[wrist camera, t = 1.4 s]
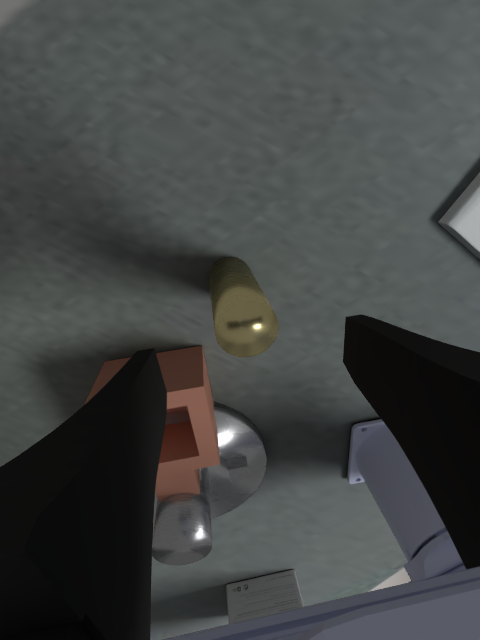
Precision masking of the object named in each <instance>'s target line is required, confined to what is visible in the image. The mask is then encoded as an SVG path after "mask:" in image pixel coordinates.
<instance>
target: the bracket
mask: <svg viewBox="0 0 480 640" xmlns="http://www.w3.org/2000/svg"><path fill="white" fill-rule="evenodd" d="M156 355H157V359H158V362H159V366H160V369H161V373H162V376H163V380H164V383H165V387H166V390H167V416H168V413H172V414H173V413H174V414H173V415H175V413H178V416H176V415H175V416H176V418H175V417H174V418H172V420H174V419H175V420H177V421H179V420H181V421H182V420H183V419H184V418H183V416H184V417H188V415H187V414H188V412H189V416H190V417H188V418H190V421H188V420H187V419H184V420H187V421H184V420H183V421H184V422H183V421H182V422H180V421H179V422H177V421H176V422H175V421H173V422H175V423H174V424H173V423H171V422H172V420H171V417H173V416H172V414H169V416H170V415H171V417H169V416H168V417H166V419H167V418H170V419H168V420H166V423H167V422H168V421H169V420H170V422H168V423H167V425H165V429H164V435H163V442H162V448H161V454H160V460H159V466H158V472H157V479H156V487H155V493H156V496H157V498H158V501H159V502H161V501H163V500H164V499H165V498H167V497H169V496H172V495H175V494H179V493H194V494H200V468H205V467H210V466H215V465H220V456H219V444H218V432H217V424H216V419H215V414H214V403H213V397H212V392H211V387H210V382H209V377H208V372H207V367H206V362H205V357H204V352H203V347H202V346H197V347H190V348H184V349H178V350H172V351H166V352H160V353H156ZM130 358H131V357H129V358H123V359H117V360H111V361H105V362H104V364H103V366H102V368H101V370H100V372H99V374H98V377H97V379H96V381H95V383H94V385H93V387H92V389H91V391H90V393H89V395H88V398H87V400H86V402H85V404H86V403H87V402H88V401H89V400H90V399H91V398H92V397H93V396H94V395H96V394H97V393H98V392H99V391H100V390H101V389H102V388H103V387H104V386H105V385H106V384H107V383H108V382H109V381H110V380H111V379H112V378H113V376H114V375H115V374H116V373H117V372H118V371H119V370H120V369H121V368H122V367H123V366H124V365H125V364H126V363H127V361H128V360H129V359H130ZM85 404H84V405H85ZM179 411H181V414H184V415H180V414H179V413H180V412H179ZM183 411H184V412H183ZM185 411H186V412H187V413H186V415H185ZM179 415H180V416H181V417H182V418H183V419H180V416H179ZM177 417H178V419H179V420H178V419H177ZM166 423H165V424H166ZM169 423H170V424H169Z"/></svg>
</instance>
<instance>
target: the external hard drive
mask: <svg viewBox="0 0 480 640" xmlns="http://www.w3.org/2000/svg"><path fill="white" fill-rule="evenodd" d="M438 223H439V224H440V225H441V226H442V227H443V228H445V229H446V230H447V231H448V232H449V233H450V234H451V235H453V236H454V237H455V238H456V239H457V240H458V241H459V242H460V243H462V244H463V245H464V246H465V247H466V248H467V249H468V250H469V251H471V252H472V253H473V254H474V255H475V256H476V257H477V258H478V259H480V172H479V174H478V175H477V176H476V177H475V178H474V180H473V181H472V182H471V183H470V184H469V186H468V187H467V188H466V189H465V190H464V191H463V193H462V194H461V195H460V196H459V197H458V199H457V200H456V201H455V202H454V203H453V205H452V206H451V207H450V208H449V209H448V211H447V212H446V213H445V214H444V216H443V217H442V218H441V219H440V220H439V221H438Z"/></svg>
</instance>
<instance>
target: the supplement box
mask: <svg viewBox="0 0 480 640" xmlns="http://www.w3.org/2000/svg"><path fill="white" fill-rule="evenodd" d="M226 591H227V605H228V618H229V624H232V623H236V622H241V621H245V620H249V619H254V618H258V617H262V616H267V615H271V614H275V613H280V612H284V611H288V610H293V609H297V608H301V607H304V605H303V601H302V597H301V593H300V589H299V585H298V581H297V577H296V573H295V570H289V571H284V572H280V573H275V574H271V575H266V576H262V577H258V578H253V579H249V580H244V581H240V582H236V583H231V584H227V585H226Z"/></svg>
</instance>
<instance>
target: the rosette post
mask: <svg viewBox="0 0 480 640" xmlns="http://www.w3.org/2000/svg"><path fill="white" fill-rule="evenodd" d="M213 403H214V414H215V419H216V424H217V432H218V444H219V456H220V465H215V466H210V467H205V468H200V494H194V493H179V494H175V495H172V496H169V497H167V498H165V499H164V500H163V501H161V502H159V501H158V498H157V496H156V493H155V502H154V518H153V523H155V525H154V534H153V543H152V555H153V557H154V558H155V559H156V560H157V561H159V562H161V563H164V564H168V565H186V564H190V563H194V562H196V561H199V560H201V559H202V558H204V557H205V556H207V555H208V554H209V552H210V551H211V548H212V532H211V519H212V518H215V517H218V516H220V515H223V514H225V513H227V512H229V511H231V510H233V509H235V508H236V507H238V506H239V505H241V504H242V503H243V502H245V501H246V500H247V499H248V498H249V497H250V496H251V495H252V494H253V493H254V492H255V491H256V490H257V488H258V487H259V485H260V484H261V482H262V480H263V478H264V475H265V472H266V466H267V458H266V453H265V449H264V445H263V441H262V438H261V435H260V433H259V431H258V430H257V428H256V427H255V425H254V424H253V423H252V422H251V421H250V420H249V419H248V418H246V417H245V416H244V415H243V414H241V413H239V412H238V411H236V410H234V409H232V408H230V407H227V406H225V405H222V404H219V403H215V402H213ZM179 412H180V413H179V414H180V415H184V414H181V411H179ZM183 412H184V411H183ZM186 413H187V412H186V411H185V415H186ZM169 414H172V413H168V416H169ZM173 414H174V413H173ZM173 414H172V416H173V417H171V415H170V416H169V417H171V420H172V418H174V417H175V418H176V416H178V413H175V415H176V416H175V415H173ZM180 415H179V416H180ZM187 415H188V417H190V416H189V412H188V414H187ZM168 416H167V415H166V417H168ZM188 417H184V416H183V418H184V419H187V420H188V421H190V418H188ZM183 418H182V417H181V416H180V419H183ZM168 419H170V418H167V419H166V420H168ZM177 419H178V417H177ZM184 419H183V420H184ZM178 420H179V419H178ZM183 420H182V421H183ZM187 420H184V421H187ZM173 421H175V422H176V421H177V420H175V419H174V420H172V422H171V423H173V424H174V423H175V422H173ZM179 421H180V422H182V421H181V420H179ZM179 421H177V422H179ZM184 421H183V422H184ZM168 422H170V420H169V421H168ZM168 422H167V423H168ZM167 423H166V424H165V425H167ZM169 424H170V423H169Z"/></svg>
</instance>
